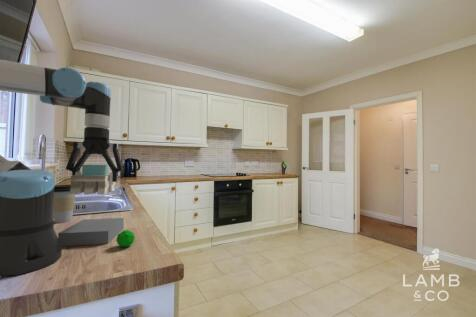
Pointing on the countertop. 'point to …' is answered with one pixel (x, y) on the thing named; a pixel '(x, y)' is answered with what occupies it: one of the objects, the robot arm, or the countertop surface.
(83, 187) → the pallet
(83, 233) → the dock
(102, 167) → the teal block
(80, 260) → the countertop surface
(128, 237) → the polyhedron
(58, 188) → the coffee cup
